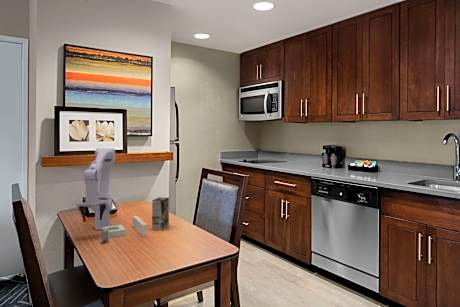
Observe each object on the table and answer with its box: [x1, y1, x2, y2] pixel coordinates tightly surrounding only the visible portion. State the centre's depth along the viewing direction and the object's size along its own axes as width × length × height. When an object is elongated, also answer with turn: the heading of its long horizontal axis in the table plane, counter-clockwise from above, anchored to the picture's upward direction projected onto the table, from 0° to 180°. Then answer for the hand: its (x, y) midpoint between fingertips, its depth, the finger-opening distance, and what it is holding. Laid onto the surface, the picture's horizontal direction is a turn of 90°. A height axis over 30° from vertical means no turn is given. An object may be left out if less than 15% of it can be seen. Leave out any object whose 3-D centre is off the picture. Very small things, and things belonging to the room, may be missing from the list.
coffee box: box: [151, 197, 170, 231], centre depth 181 cm, size 9×6×16 cm
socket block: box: [101, 224, 127, 239], centre depth 169 cm, size 10×10×3 cm
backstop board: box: [132, 215, 148, 237], centre depth 174 cm, size 20×2×6 cm, turn 30°
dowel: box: [101, 229, 109, 244], centre depth 156 cm, size 3×3×6 cm
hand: (92, 220), depth 163 cm, fingers open, 7 cm apart
